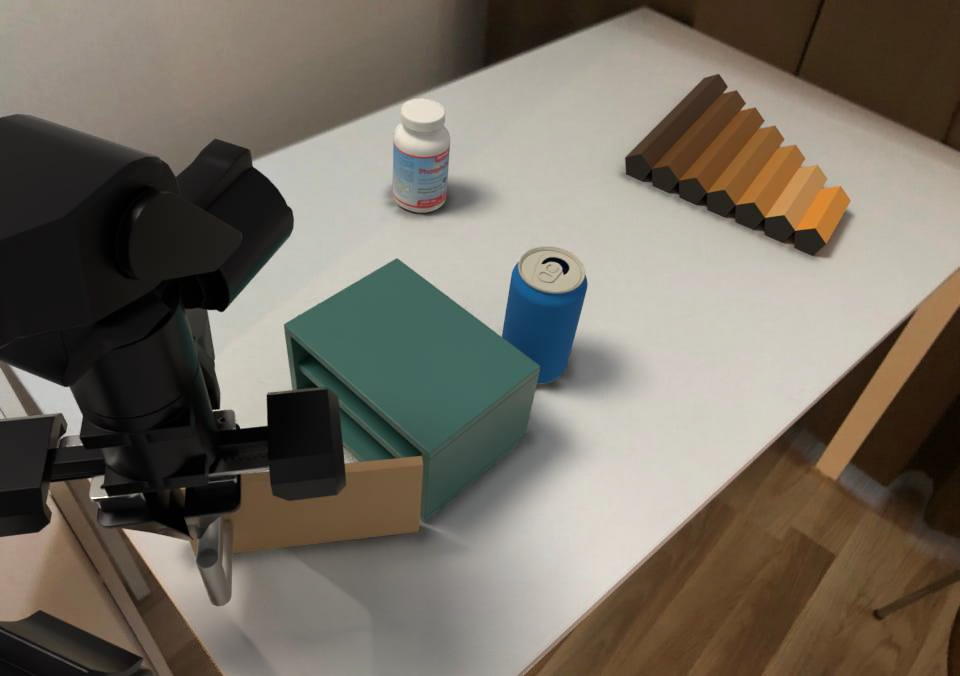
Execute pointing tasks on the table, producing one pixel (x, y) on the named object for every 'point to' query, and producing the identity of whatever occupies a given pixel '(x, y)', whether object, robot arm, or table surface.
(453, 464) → the green cabinet
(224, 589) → the wooden cabinet door
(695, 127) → the pan flute
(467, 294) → the table surface
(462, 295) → the table surface
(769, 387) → the table surface
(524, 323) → the beverage can
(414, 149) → the pill bottle
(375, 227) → the table surface
